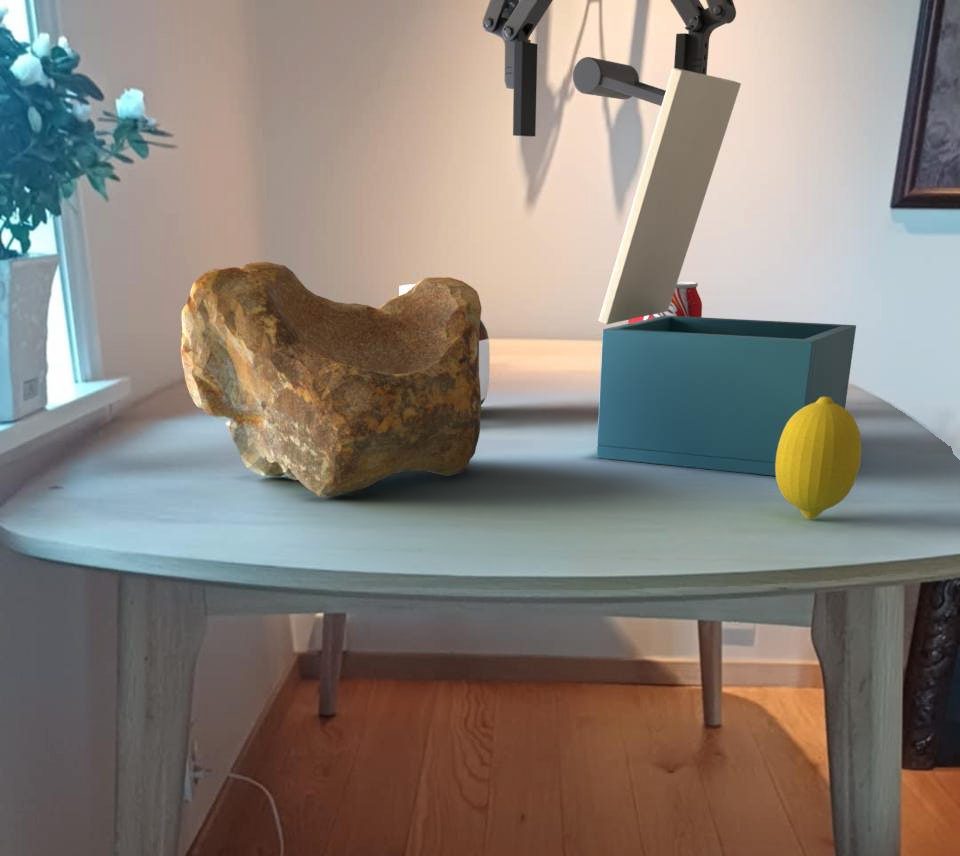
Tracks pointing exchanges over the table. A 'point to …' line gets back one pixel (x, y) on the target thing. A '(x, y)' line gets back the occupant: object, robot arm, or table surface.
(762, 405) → the box
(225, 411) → the rough brown rock
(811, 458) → the lemon
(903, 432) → the table surface
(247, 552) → the table surface
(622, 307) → the cooler lid
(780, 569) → the table surface
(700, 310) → the soda can
